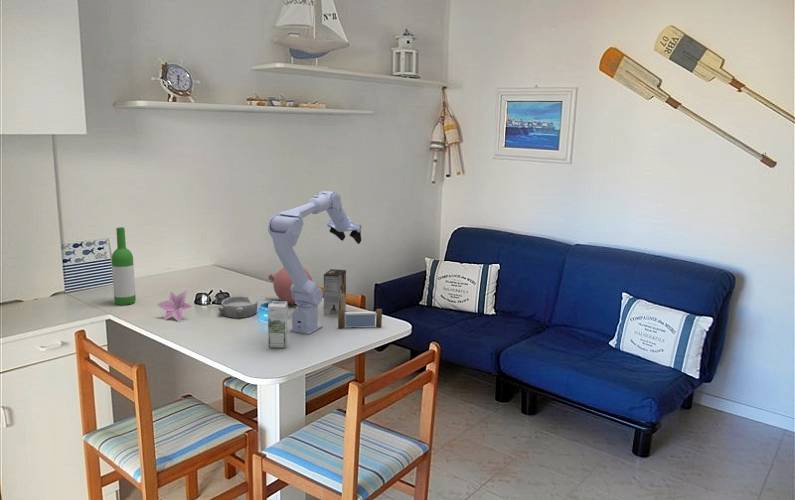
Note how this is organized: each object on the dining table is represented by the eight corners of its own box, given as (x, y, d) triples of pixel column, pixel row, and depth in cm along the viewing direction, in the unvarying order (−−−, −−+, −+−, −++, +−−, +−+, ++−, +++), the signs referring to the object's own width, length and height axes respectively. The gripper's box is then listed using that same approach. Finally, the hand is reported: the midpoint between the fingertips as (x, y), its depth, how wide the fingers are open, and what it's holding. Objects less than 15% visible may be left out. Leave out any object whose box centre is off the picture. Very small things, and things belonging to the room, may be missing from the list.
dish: (239, 305, 253) (239, 293, 252) (265, 312, 246) (265, 299, 245) (211, 315, 241) (211, 302, 240) (238, 321, 234) (238, 308, 233)
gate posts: (338, 328, 228) (338, 311, 227) (337, 326, 231) (337, 309, 229) (381, 327, 230) (382, 310, 229) (381, 325, 233) (381, 308, 231)
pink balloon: (283, 293, 271) (282, 258, 267) (320, 301, 260) (320, 264, 257) (257, 302, 258) (256, 264, 255) (295, 311, 247) (294, 272, 244)
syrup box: (288, 342, 214) (287, 300, 211) (285, 348, 208) (285, 305, 205) (271, 342, 214) (270, 300, 210) (268, 348, 208) (267, 305, 205)
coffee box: (330, 308, 252) (330, 268, 249) (346, 309, 251) (346, 269, 247) (323, 315, 243) (323, 274, 240) (339, 316, 242) (339, 275, 239)
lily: (155, 318, 238) (150, 300, 231) (180, 300, 245) (176, 283, 239) (176, 334, 233) (172, 316, 226) (202, 315, 240) (198, 297, 234)
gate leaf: (345, 326, 229) (345, 313, 228) (345, 325, 231) (345, 312, 229) (375, 326, 230) (375, 312, 229) (375, 324, 232) (375, 311, 231)
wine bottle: (133, 299, 257) (129, 225, 251) (137, 304, 251) (133, 228, 245) (113, 301, 253) (107, 227, 247) (116, 306, 247) (111, 230, 241)
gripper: (359, 211, 234) (371, 235, 244) (328, 206, 242) (341, 229, 251) (350, 225, 231) (363, 249, 241) (318, 219, 238) (332, 243, 248)
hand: (351, 240), depth 246 cm, fingers open, 7 cm apart
